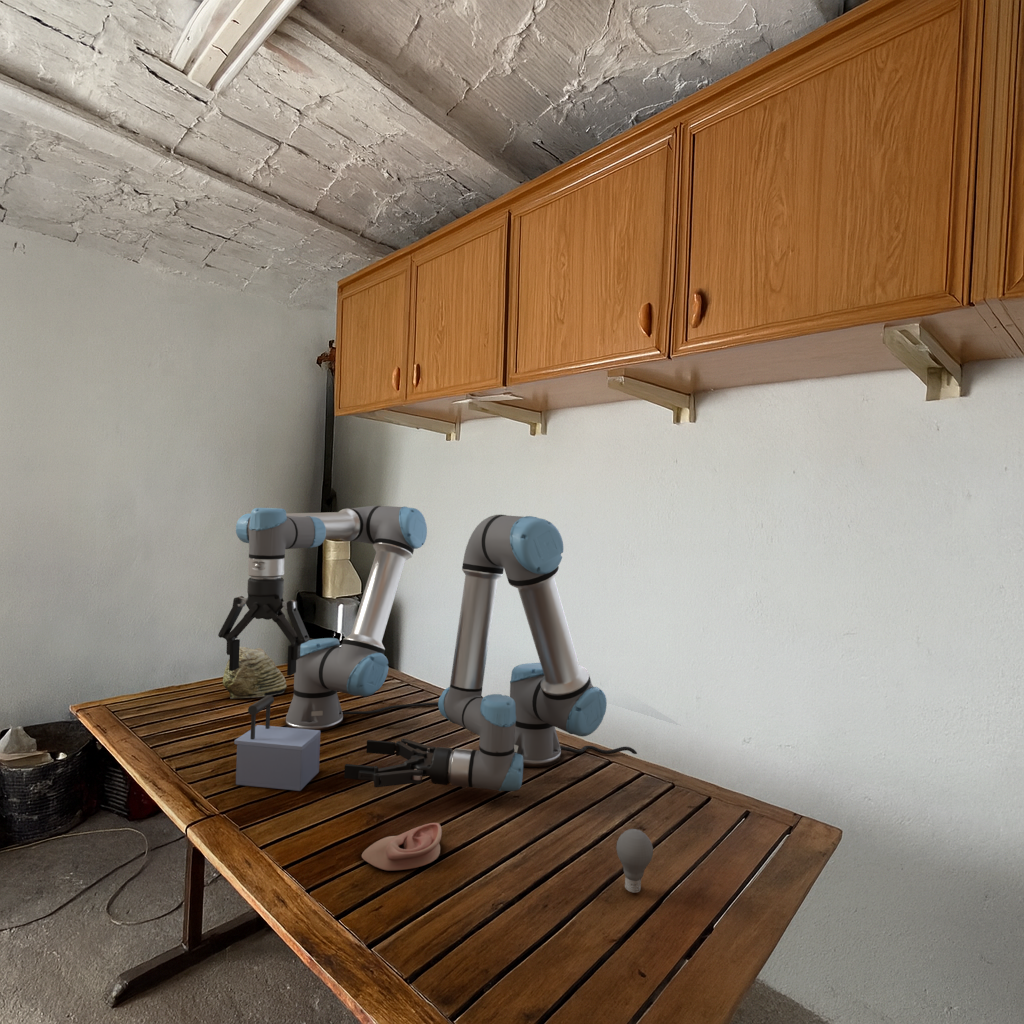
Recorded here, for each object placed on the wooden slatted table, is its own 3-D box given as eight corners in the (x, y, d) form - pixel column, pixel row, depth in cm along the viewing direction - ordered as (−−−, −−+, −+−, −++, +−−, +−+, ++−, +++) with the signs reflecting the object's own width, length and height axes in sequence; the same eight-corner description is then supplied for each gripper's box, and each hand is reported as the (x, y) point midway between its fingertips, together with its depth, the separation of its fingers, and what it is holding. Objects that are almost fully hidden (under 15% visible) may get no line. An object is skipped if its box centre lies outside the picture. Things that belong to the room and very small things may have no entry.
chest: (235, 784, 138) (237, 744, 137) (258, 766, 147) (259, 728, 147) (300, 791, 136) (301, 750, 136) (319, 772, 146) (320, 734, 145)
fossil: (218, 695, 195) (220, 647, 195) (278, 685, 208) (279, 640, 207) (228, 703, 189) (230, 653, 188) (289, 692, 201) (290, 645, 201)
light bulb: (610, 879, 108) (613, 822, 108) (644, 879, 109) (647, 822, 109) (619, 902, 102) (622, 840, 102) (655, 901, 103) (658, 840, 103)
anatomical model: (354, 842, 109) (381, 811, 120) (353, 865, 109) (380, 831, 121) (427, 854, 107) (448, 821, 118) (426, 877, 107) (447, 842, 118)
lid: (234, 744, 137) (235, 705, 137) (257, 728, 147) (258, 692, 147) (301, 750, 136) (303, 711, 136) (320, 734, 145) (321, 697, 145)
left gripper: (203, 575, 139) (200, 671, 139) (312, 582, 136) (308, 680, 136) (223, 572, 146) (219, 663, 147) (326, 578, 143) (322, 671, 144)
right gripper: (437, 811, 124) (333, 801, 127) (461, 760, 149) (374, 752, 152) (439, 774, 124) (335, 764, 127) (463, 729, 149) (375, 721, 151)
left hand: (262, 671), depth 142 cm, fingers open, 13 cm apart
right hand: (356, 758), depth 139 cm, fingers open, 13 cm apart
